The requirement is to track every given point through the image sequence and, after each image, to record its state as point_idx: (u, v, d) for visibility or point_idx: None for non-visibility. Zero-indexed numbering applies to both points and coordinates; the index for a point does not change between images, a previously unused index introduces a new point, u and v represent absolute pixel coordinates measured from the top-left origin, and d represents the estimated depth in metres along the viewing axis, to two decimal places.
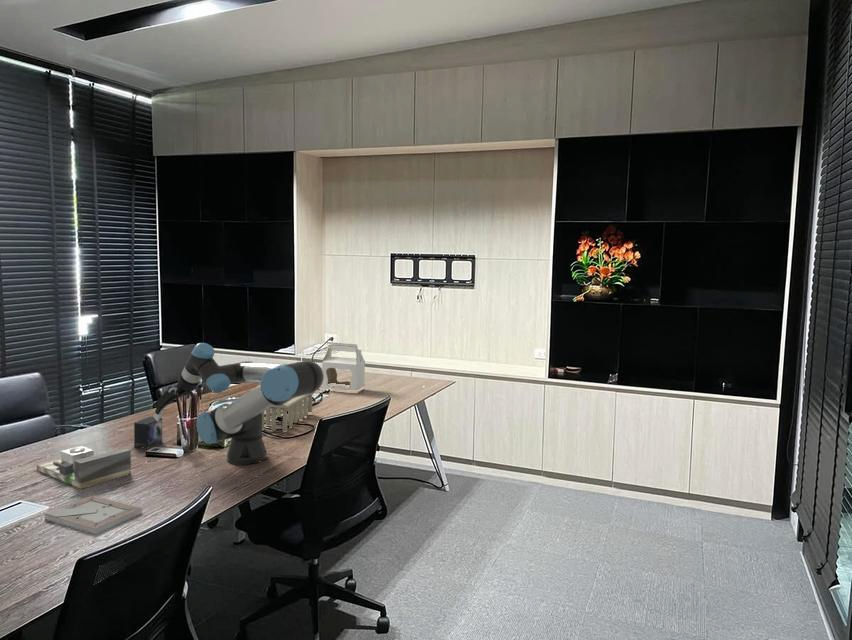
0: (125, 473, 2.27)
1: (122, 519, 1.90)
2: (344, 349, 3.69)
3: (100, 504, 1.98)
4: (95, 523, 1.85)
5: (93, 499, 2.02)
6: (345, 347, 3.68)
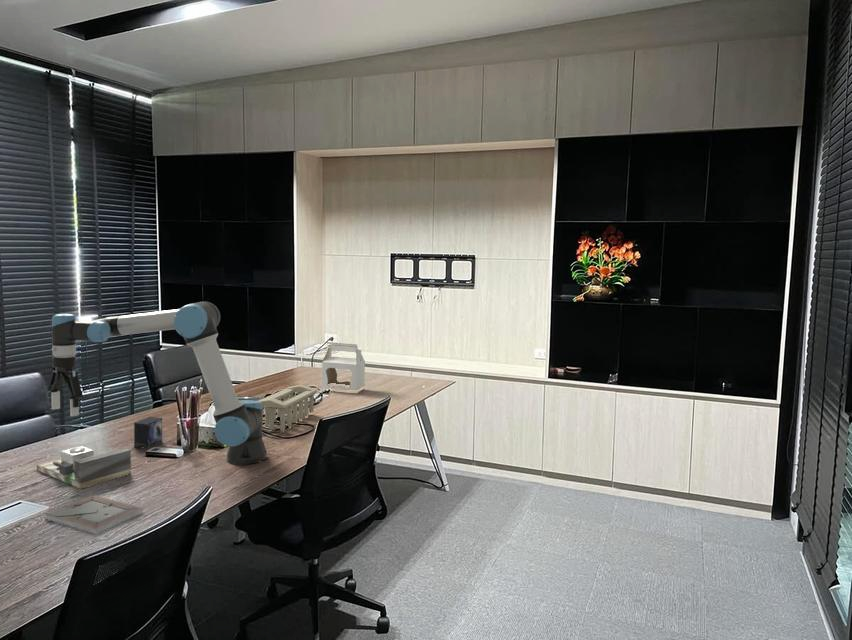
0: (125, 473, 2.27)
1: (122, 519, 1.90)
2: (344, 349, 3.69)
3: (101, 504, 1.98)
4: (96, 522, 1.85)
5: (94, 499, 2.02)
6: (345, 347, 3.68)
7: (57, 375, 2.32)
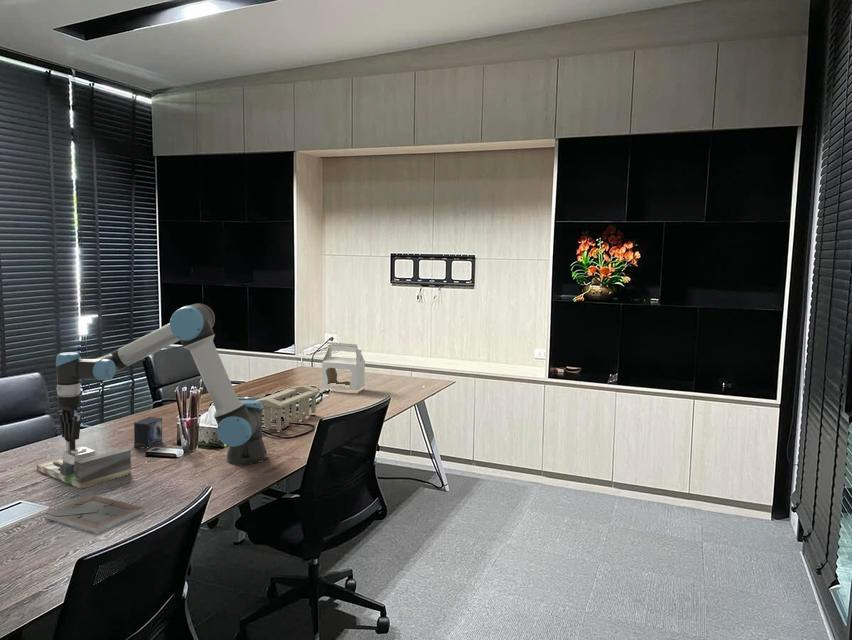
0: (125, 473, 2.27)
1: (123, 518, 1.90)
2: (344, 349, 3.69)
3: (101, 503, 1.99)
4: (97, 522, 1.85)
5: (94, 499, 2.02)
6: (345, 347, 3.68)
7: (63, 414, 2.31)
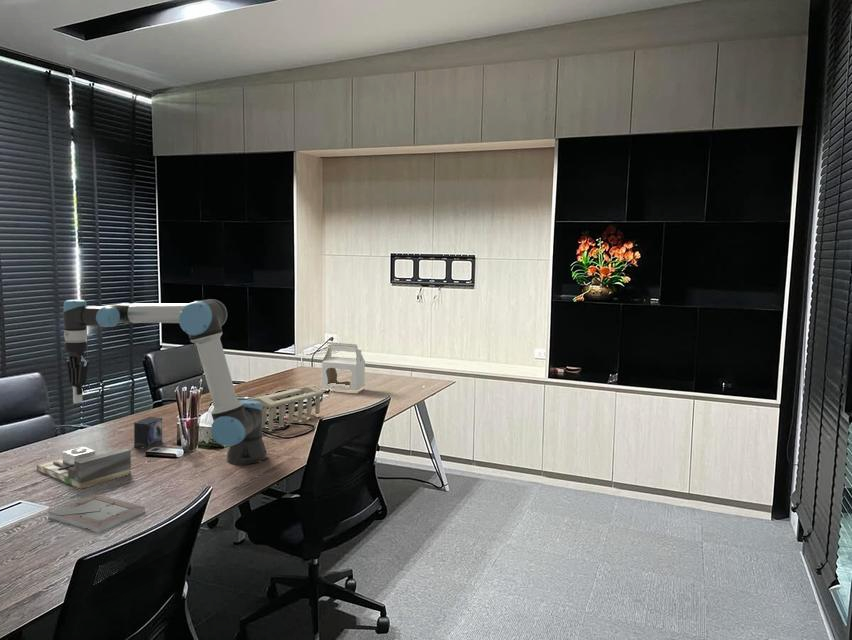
0: (125, 473, 2.27)
1: (125, 518, 1.91)
2: (344, 349, 3.69)
3: (103, 503, 1.99)
4: (99, 521, 1.86)
5: (96, 498, 2.03)
6: (345, 347, 3.68)
7: (70, 359, 2.36)
